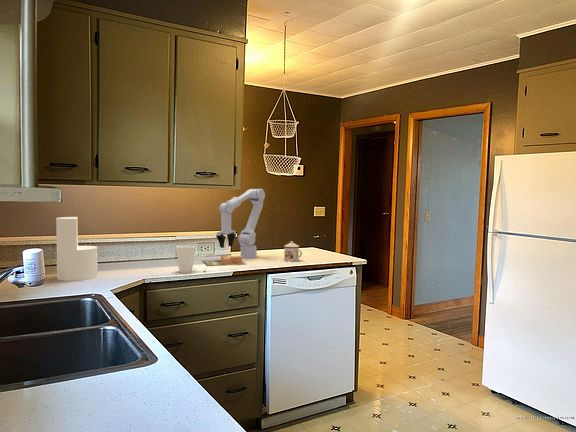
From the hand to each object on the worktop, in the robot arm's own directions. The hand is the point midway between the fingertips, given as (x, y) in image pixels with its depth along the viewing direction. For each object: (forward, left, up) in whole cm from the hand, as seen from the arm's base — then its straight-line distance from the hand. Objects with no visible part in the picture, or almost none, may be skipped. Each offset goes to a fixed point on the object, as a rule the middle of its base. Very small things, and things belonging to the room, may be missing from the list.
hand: (226, 246), depth 258 cm
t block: (-2, +7, -8) cm, 11 cm away
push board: (+3, +7, -9) cm, 12 cm away
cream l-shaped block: (+76, +25, -9) cm, 81 cm away
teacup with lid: (-40, +4, -9) cm, 41 cm away
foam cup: (+26, +24, -9) cm, 37 cm away
